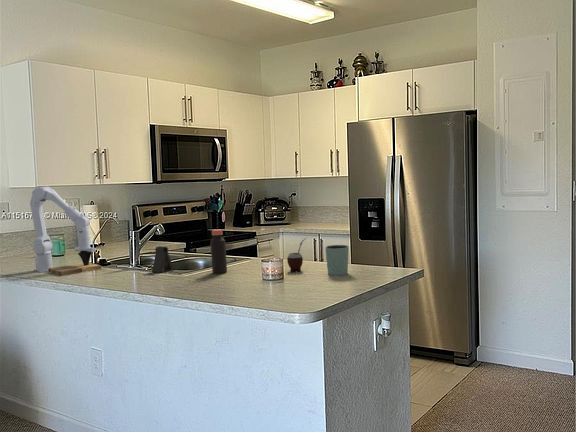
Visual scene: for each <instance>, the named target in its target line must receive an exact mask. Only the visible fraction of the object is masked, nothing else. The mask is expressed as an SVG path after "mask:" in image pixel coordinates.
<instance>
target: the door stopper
mask: <svg viewBox="0 0 576 432" xmlns="http://www.w3.org/2000/svg"><path fill="white" fill-rule="evenodd" d="M154 249H155V255H154V260H153V264H152V269H151V272H152V273H156V274H157V273H158V274H161V273H165V272H166V273H167V272H171V271H175V268H174V265H173V263H172V259H171V258H170V255H169V249H168V247H167V246H160V245H159V246H156V247H155V248H154Z"/></svg>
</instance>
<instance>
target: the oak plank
mask: <svg viewBox="0 0 576 432" xmlns="http://www.w3.org/2000/svg"><path fill="white" fill-rule="evenodd" d="M67 265H68V266H72V267H77V268H81V269H82V273H87V272H86V271H88V272H93V270H94V271H99V270H102V265H100V264H96V263H91V262H89V265H86V266H85V265H84V264H83V262H81V263H74V264H67Z"/></svg>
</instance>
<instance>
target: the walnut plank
mask: <svg viewBox="0 0 576 432" xmlns="http://www.w3.org/2000/svg"><path fill="white" fill-rule="evenodd" d="M68 265H69V264H67V265H61V266H60V265H59V266H56V267H55V266H53V268H48V271H47V272H48V273H50V274H54V275H58V276H60V277H63V276H68V275H74V274H80V273H81V272H82V269H81V268H77V267H72V266H68ZM82 273H83V272H82Z"/></svg>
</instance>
